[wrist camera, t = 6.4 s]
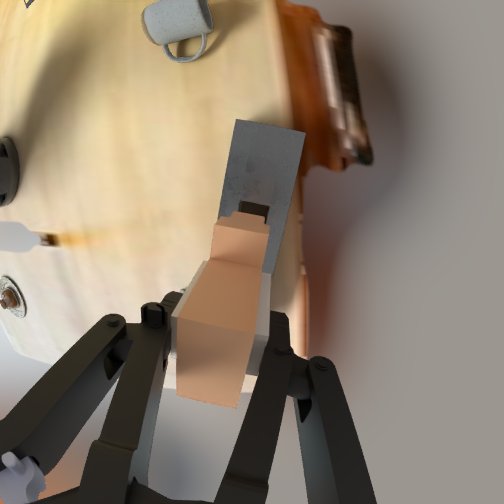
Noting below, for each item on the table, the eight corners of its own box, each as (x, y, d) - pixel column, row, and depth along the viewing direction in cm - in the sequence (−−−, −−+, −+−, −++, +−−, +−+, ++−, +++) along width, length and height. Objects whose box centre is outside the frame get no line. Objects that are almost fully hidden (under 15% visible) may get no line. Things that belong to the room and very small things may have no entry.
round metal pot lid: (-3, 272, 47) (-14, 279, 43) (18, 278, 47) (7, 286, 42) (9, 311, 52) (0, 319, 47) (32, 320, 51) (22, 329, 47)
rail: (209, 307, 43) (202, 325, 38) (241, 123, 33) (236, 118, 28) (258, 317, 43) (256, 336, 38) (301, 135, 33) (305, 132, 28)
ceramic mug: (156, 18, 27) (135, -1, 20) (208, 1, 26) (195, -23, 19) (165, 72, 31) (142, 59, 24) (220, 56, 30) (208, 36, 23)
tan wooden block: (215, 305, 24) (177, 415, 12) (230, 203, 20) (179, 270, 9) (249, 311, 24) (231, 427, 12) (270, 211, 20) (265, 287, 9)
